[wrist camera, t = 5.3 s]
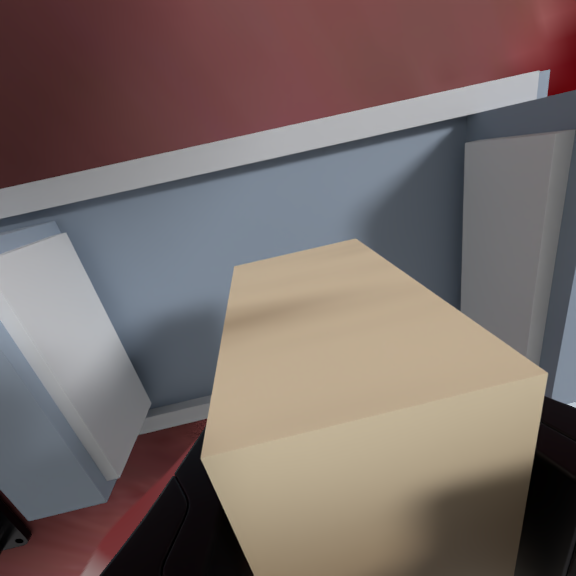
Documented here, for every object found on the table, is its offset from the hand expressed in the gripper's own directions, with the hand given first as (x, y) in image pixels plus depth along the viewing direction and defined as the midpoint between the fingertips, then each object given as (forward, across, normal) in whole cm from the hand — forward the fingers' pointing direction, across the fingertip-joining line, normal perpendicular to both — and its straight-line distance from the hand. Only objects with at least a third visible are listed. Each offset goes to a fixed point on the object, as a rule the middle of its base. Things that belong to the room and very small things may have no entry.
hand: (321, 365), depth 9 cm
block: (+1, 0, 0) cm, 1 cm away
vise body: (+8, +1, 0) cm, 8 cm away
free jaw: (+6, +10, 0) cm, 12 cm away
